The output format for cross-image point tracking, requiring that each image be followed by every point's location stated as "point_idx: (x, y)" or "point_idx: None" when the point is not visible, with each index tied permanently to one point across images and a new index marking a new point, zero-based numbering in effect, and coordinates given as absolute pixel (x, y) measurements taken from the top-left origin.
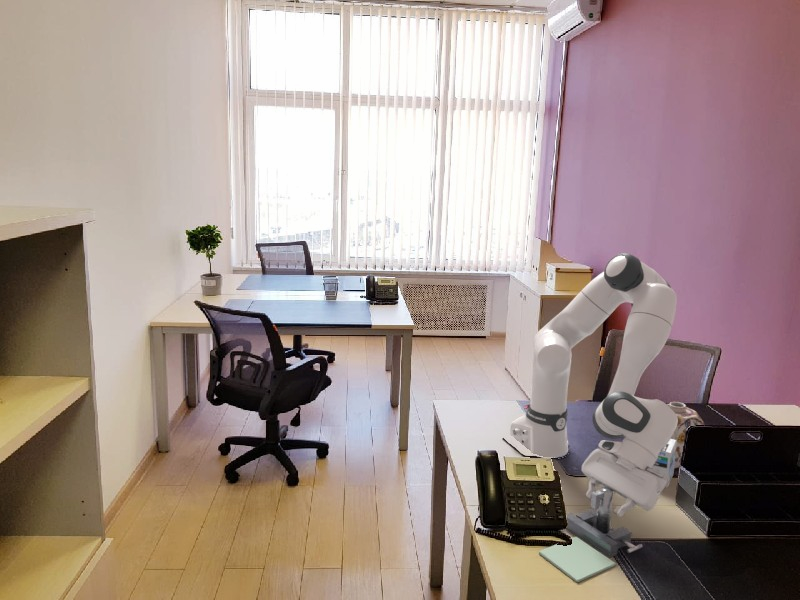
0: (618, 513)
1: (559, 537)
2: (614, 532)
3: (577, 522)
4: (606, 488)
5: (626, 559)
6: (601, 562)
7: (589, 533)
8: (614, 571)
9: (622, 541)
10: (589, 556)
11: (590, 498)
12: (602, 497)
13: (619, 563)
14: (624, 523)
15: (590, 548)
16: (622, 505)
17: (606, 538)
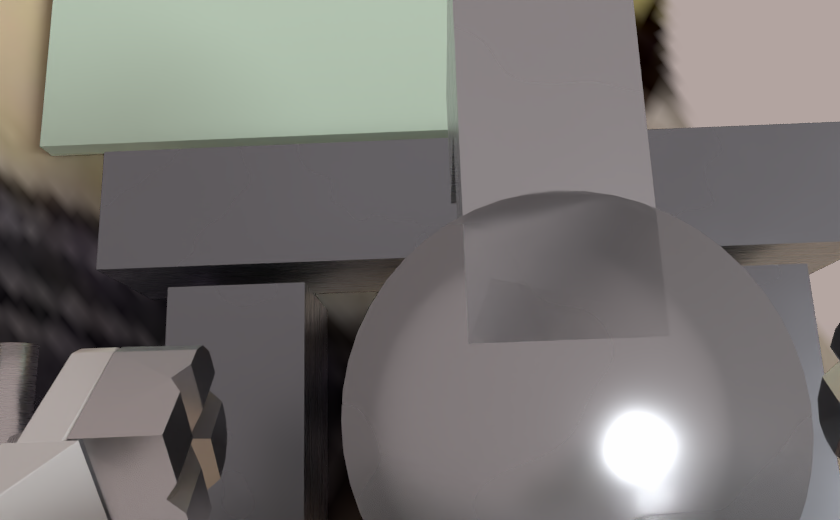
0: (83, 349)
1: (641, 16)
2: (268, 405)
3: (657, 158)
4: (648, 509)
5: (50, 323)
6: (122, 44)
7: (426, 143)
8: (4, 89)
9: None
10: (243, 12)
11: (836, 347)
12: (456, 201)
13: (50, 215)
14: None
15: (329, 106)
16: (13, 478)
17: (233, 219)
